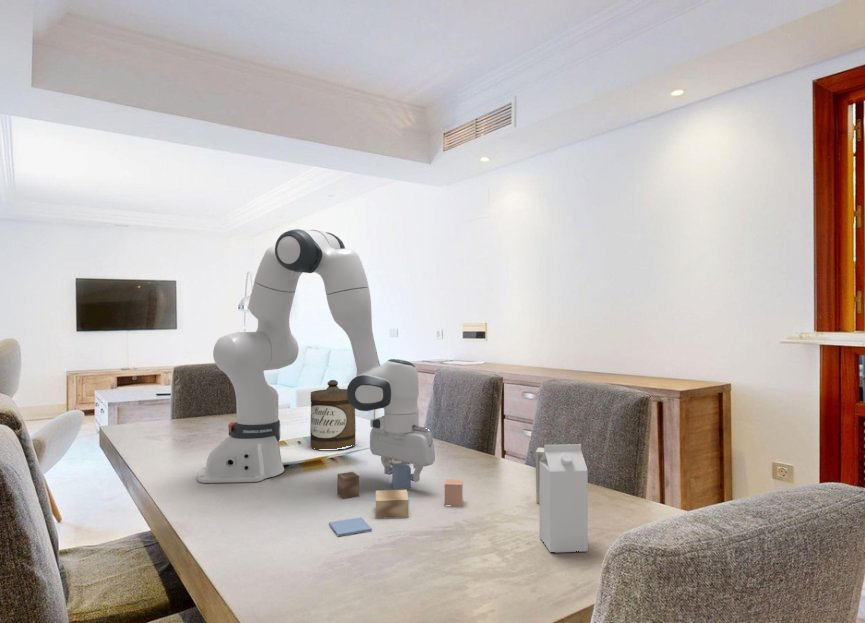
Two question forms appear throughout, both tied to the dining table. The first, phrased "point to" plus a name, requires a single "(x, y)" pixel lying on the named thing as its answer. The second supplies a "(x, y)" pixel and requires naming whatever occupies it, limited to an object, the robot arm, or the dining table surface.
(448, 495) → the terracotta cube
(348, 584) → the dining table surface
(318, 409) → the wooden container
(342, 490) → the walnut cube
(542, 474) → the milk carton
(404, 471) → the blue cube
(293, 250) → the robot arm
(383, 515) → the oak base
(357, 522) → the tile
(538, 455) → the skincare box
